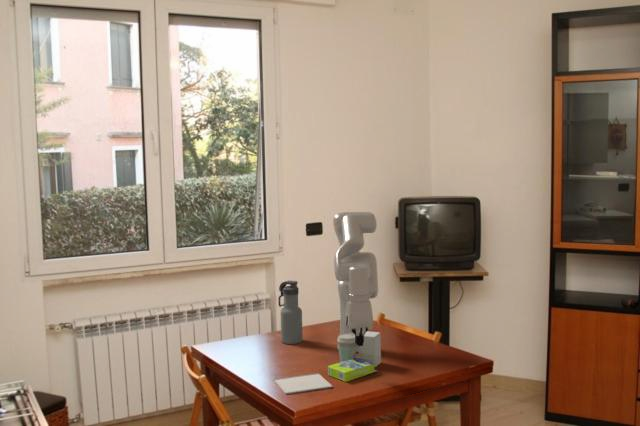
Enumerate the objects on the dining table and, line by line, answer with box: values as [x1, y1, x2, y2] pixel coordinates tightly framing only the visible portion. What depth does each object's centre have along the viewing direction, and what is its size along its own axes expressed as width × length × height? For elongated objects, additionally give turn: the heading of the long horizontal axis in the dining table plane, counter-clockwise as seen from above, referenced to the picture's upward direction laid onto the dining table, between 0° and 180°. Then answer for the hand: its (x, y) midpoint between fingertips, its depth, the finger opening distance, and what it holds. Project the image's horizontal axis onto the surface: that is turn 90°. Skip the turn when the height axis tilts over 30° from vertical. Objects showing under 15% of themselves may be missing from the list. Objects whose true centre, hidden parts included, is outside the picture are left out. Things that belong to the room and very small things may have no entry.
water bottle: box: [277, 279, 303, 345], centre depth 298 cm, size 10×10×28 cm
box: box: [327, 357, 378, 383], centre depth 254 cm, size 10×4×17 cm
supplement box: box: [357, 330, 382, 368], centre depth 265 cm, size 7×7×13 cm
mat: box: [273, 372, 334, 396], centre depth 244 cm, size 18×16×1 cm
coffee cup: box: [336, 333, 357, 363], centre depth 264 cm, size 9×8×12 cm
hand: (359, 345), depth 251 cm, fingers closed
